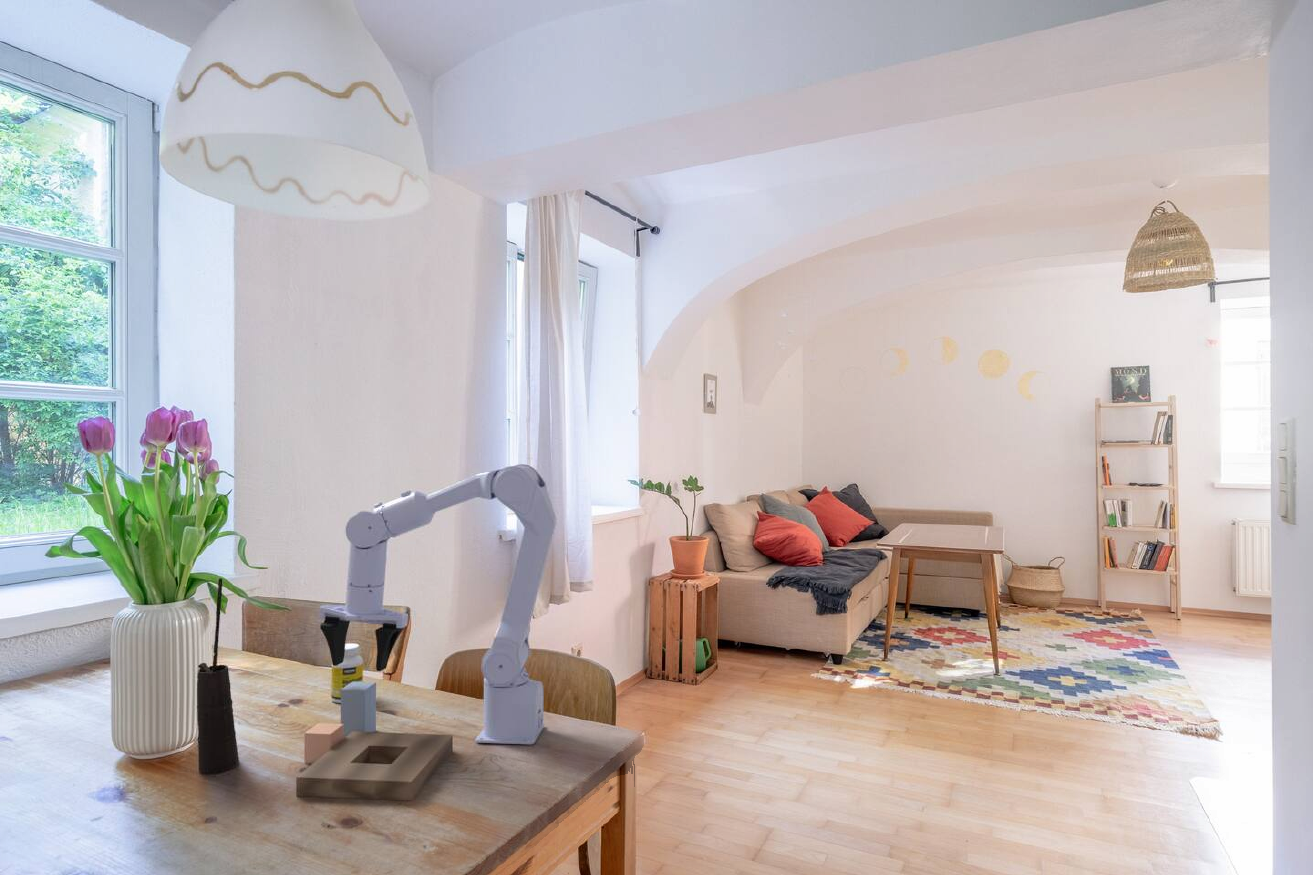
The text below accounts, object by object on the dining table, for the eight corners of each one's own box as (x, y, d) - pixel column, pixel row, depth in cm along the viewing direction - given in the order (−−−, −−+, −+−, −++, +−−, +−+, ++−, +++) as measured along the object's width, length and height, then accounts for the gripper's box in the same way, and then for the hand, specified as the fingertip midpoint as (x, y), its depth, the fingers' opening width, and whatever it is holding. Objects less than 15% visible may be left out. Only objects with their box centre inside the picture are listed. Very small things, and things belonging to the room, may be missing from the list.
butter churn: (166, 765, 111) (167, 575, 111) (237, 746, 118) (238, 567, 118) (184, 785, 105) (185, 584, 105) (258, 764, 112) (258, 575, 112)
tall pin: (375, 730, 125) (376, 682, 125) (364, 739, 121) (364, 690, 121) (352, 729, 125) (352, 681, 125) (340, 739, 121) (340, 689, 121)
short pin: (343, 753, 116) (343, 723, 116) (330, 764, 112) (330, 733, 112) (318, 752, 116) (318, 722, 116) (304, 763, 112) (304, 733, 112)
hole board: (452, 750, 117) (452, 734, 117) (411, 800, 101) (411, 781, 101) (352, 747, 118) (352, 731, 118) (296, 795, 102) (296, 777, 102)
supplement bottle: (341, 706, 136) (341, 651, 136) (325, 699, 139) (325, 646, 139) (368, 697, 140) (368, 645, 140) (352, 691, 144) (352, 640, 144)
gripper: (310, 583, 120) (303, 668, 120) (395, 593, 118) (389, 679, 118) (335, 575, 127) (328, 656, 127) (416, 584, 125) (409, 666, 125)
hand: (359, 666), depth 123 cm, fingers open, 7 cm apart
